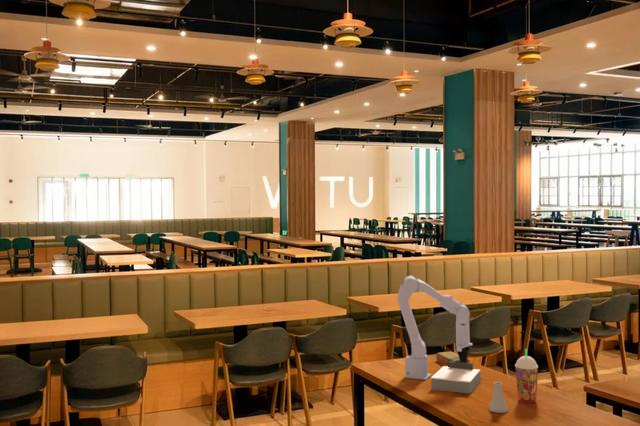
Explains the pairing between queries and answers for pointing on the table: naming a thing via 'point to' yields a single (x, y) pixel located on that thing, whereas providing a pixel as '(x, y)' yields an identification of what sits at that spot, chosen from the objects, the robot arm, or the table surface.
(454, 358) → the carton
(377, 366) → the table surface
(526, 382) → the smoothie
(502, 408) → the flask
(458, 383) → the box
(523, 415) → the table surface
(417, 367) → the robot arm
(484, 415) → the table surface
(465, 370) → the lid
